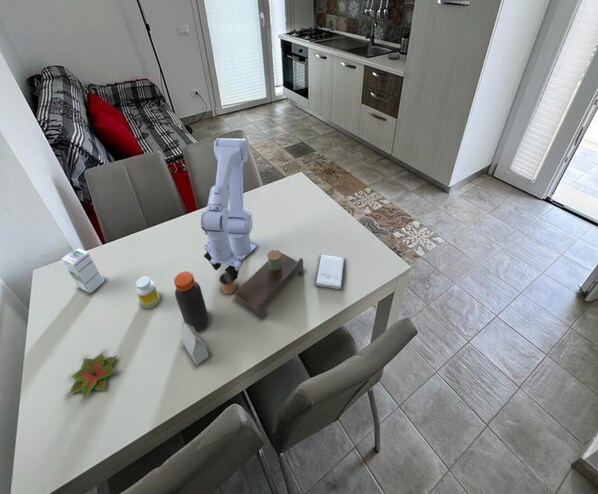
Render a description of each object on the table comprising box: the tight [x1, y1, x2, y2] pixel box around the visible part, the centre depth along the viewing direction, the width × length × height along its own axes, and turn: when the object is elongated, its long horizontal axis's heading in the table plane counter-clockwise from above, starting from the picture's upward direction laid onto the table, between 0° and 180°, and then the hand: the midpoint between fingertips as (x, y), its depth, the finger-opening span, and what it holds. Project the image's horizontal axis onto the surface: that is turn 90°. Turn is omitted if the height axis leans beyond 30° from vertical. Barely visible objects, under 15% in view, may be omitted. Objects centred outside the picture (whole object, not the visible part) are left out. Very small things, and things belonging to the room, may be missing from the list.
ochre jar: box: [219, 271, 237, 295], centre depth 108 cm, size 5×5×6 cm
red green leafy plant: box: [67, 351, 118, 400], centre depth 86 cm, size 12×12×5 cm
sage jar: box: [267, 249, 282, 271], centre depth 111 cm, size 5×5×6 cm
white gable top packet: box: [180, 322, 210, 366], centre depth 90 cm, size 4×7×10 cm, turn 42°
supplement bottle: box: [135, 276, 160, 309], centre depth 104 cm, size 5×5×10 cm
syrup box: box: [61, 247, 105, 294], centre depth 108 cm, size 6×6×14 cm
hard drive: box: [315, 254, 345, 290], centre depth 114 cm, size 2×8×12 cm
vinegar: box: [173, 271, 210, 332], centre depth 94 cm, size 7×7×20 cm
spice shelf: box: [233, 252, 304, 319], centre depth 109 cm, size 11×22×6 cm, turn 144°
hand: (226, 273), depth 106 cm, fingers open, 7 cm apart
